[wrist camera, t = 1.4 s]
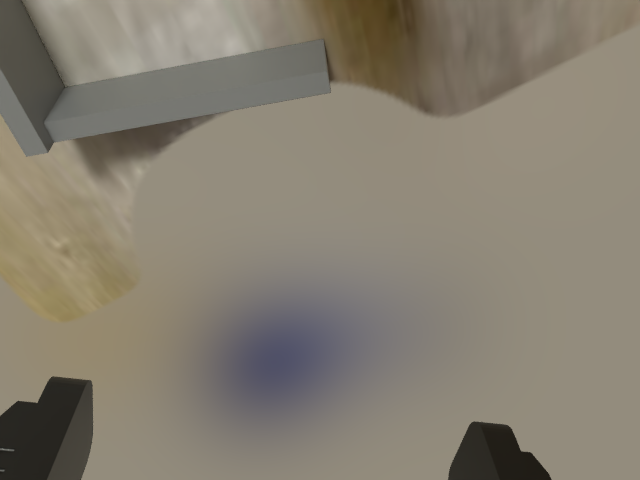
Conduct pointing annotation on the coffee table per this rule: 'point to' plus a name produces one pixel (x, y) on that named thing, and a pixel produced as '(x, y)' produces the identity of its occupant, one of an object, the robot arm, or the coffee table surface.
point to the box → (139, 87)
